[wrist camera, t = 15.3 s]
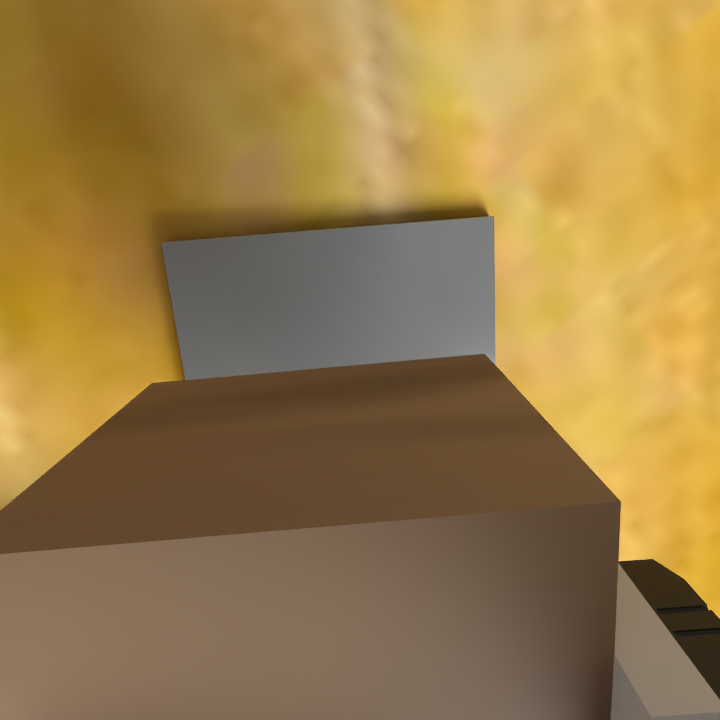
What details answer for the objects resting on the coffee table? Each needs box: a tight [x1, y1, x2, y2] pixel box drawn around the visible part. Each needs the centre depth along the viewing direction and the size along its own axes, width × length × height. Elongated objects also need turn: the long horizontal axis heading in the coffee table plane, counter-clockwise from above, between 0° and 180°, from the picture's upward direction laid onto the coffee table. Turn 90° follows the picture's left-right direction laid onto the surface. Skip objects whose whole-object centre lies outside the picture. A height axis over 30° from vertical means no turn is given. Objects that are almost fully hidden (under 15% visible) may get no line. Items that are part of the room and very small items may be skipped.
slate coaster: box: [161, 216, 495, 380], centre depth 20 cm, size 11×11×1 cm
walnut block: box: [0, 354, 621, 720], centre depth 9 cm, size 7×7×6 cm
